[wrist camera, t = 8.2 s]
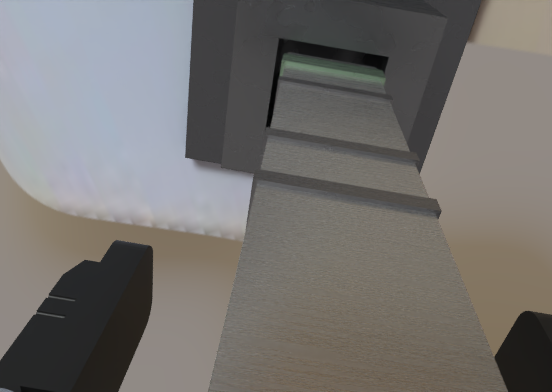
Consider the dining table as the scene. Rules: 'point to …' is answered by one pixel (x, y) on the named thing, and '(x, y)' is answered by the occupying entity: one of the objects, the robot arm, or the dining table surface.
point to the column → (345, 255)
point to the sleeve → (320, 43)
